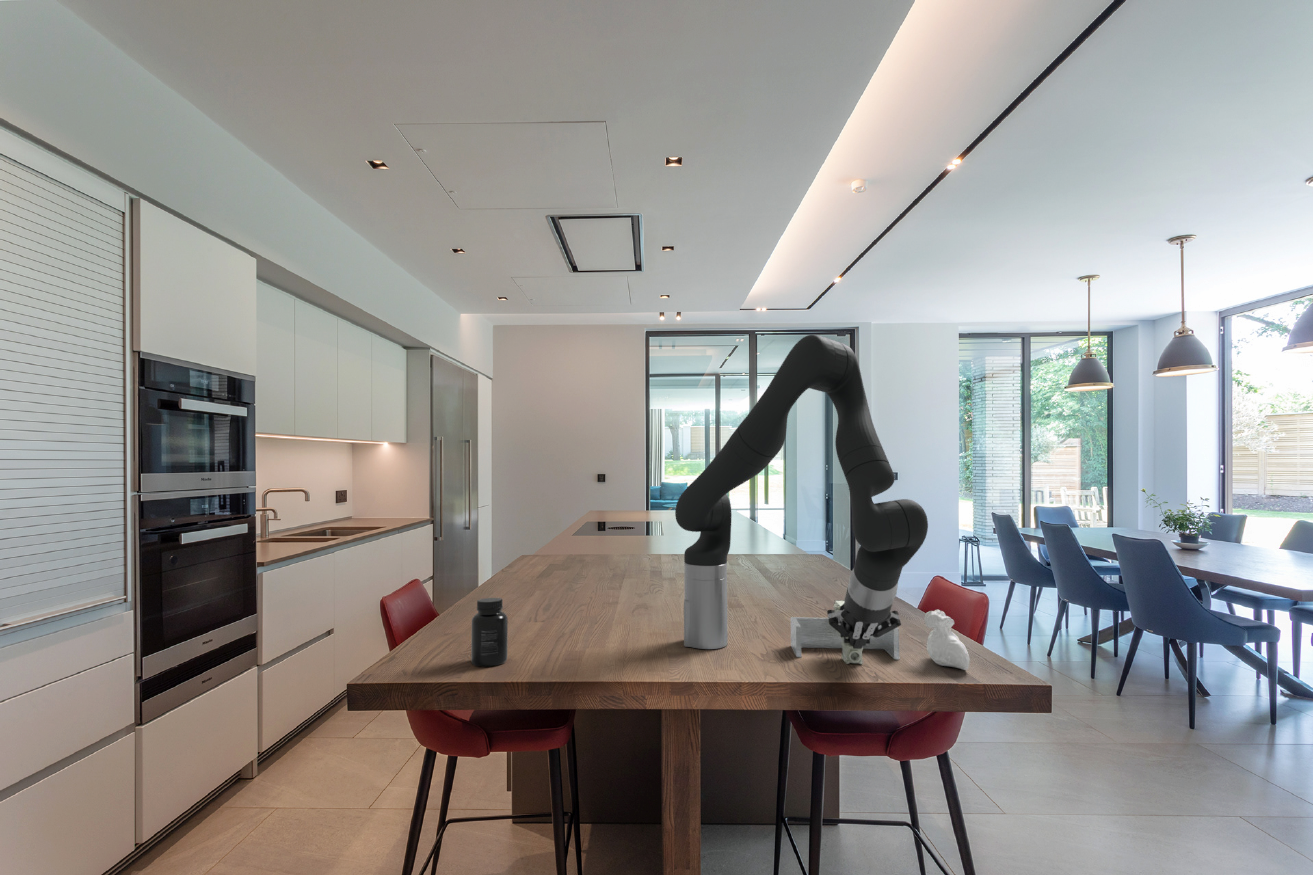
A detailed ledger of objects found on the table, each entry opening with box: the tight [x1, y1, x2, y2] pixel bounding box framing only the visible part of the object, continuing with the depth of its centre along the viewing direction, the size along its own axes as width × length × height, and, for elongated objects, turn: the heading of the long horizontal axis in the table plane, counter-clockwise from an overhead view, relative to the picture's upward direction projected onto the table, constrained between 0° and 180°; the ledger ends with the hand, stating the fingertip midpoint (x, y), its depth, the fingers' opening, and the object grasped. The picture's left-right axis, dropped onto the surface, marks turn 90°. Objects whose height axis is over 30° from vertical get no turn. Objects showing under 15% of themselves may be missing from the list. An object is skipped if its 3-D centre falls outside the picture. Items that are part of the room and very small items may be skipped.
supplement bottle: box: [470, 597, 509, 668], centre depth 118 cm, size 7×7×12 cm
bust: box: [924, 609, 971, 671], centre depth 117 cm, size 12×8×11 cm
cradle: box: [790, 616, 901, 661], centre depth 124 cm, size 20×8×6 cm, turn 85°
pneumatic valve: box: [832, 599, 870, 665], centre depth 119 cm, size 6×12×12 cm, turn 175°
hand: (856, 644), depth 113 cm, fingers closed
